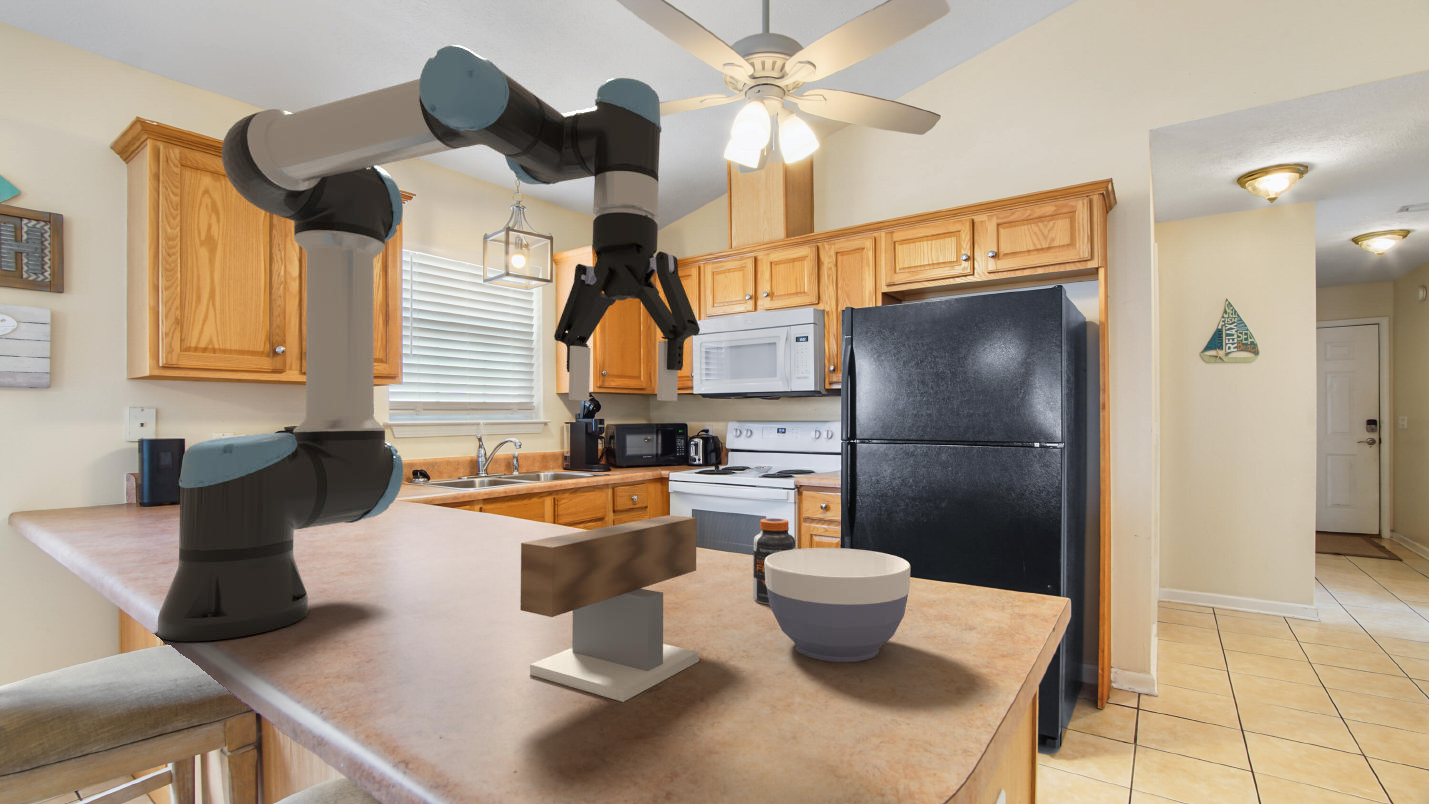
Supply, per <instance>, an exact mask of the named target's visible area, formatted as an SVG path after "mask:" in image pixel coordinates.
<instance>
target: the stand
mask: <svg viewBox="0 0 1429 804" xmlns="http://www.w3.org/2000/svg"><path fill="white" fill-rule="evenodd" d="M571 645H572V647H569V648H568V649H565V650H563V651H561V652H558V653H555V654H553V655H550V656H548V657H545V658H543V659H540V660H538V661H535V662H532V663H530V664H529V675H531V676H533V677H537V678H540V679H544V680H548V681H551V682H554V683H558V684H561V685H564V686H567V687H571V688H575V689H577V690H580V691H583V692H584V691H585V692H588V693H592V694H595V695H597V696H602V697H604V698H608V699H612V700H615V701H619V702H622V703H624V702H626V701H628V700H630V699H631V698H633V697H635V696H637V695H639V694H641V693H643V692H645V691H646V690H648V689H650V688H653V686H656V685H657V684H659V683H661V682H663V681H665V680H667V679H668V678H671V677H672V676H674V675H676V674H678V673H679V672H682V671H683V670H686V669H687V668H689V667H691V666H693V665H695V664H696V663H699V661H700V659H699V655H700V654H699V653H700V652H699V651H697V650H692V649H688V648H683V647H679V646H674V645H669V644H666V643H664V592H662V591H656V590H650V589H644V588H641V589H638V590H635V591H631V592H628V593H625V594H622V595H619V596H616V597H613V598H610V599H607V600H604V601H601V602H597V603H594V604H591V605H588V606H585V607H582V608H579V609H576V610H573V611H572V644H571Z"/></svg>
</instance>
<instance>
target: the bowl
mask: <svg viewBox="0 0 1429 804" xmlns="http://www.w3.org/2000/svg"><path fill="white" fill-rule="evenodd" d="M764 567H765V583H766V587H767V593H768V598H769V603H770V604H769V607H770V609H771V611H772V613H773V615H774V617H775V620H776V621H777V624H778V625H779V627H780V630H781V631H782V632H783V633H784V634H785V635H786V636H787V637H788V638H789V639H790V640H791V641H792V642H793V643H794V647H795V649H796V651H798V652H799V653H800V654H802V655H804V656H806V657H808V658H811V659H815V660H819V661H822V662H823V661H825V662H830V663H856V662H863V661H867V660H870V659H873V658H875V657H876V656H877V655H878V654H879V652H880V648H881V647H882V646H884V645H885V644H886V643H887V642H888V641H889V640H890V639H892V638H893V637H894V636H895V633H896V631H897V630H898V628H899V627H900V624H901V622H902V620H903V618H904V617H905V614H906V608H907V603H908V598H909V593H910V584H911V564H910V563H909V561H907V560H906V559H904V558H902V557H899V556H897V555H894V554H893V555H892V554H888V553H884V552H881V551H879V552H878V551H874V550H873V551H872V550H866V549H856V548H855V549H854V548H842V547H808V548H797V549H796V548H795V549H794V550H787V551H781V552H777V553H773V554H771V555H769V556H767V557H766V558H765V561H764Z"/></svg>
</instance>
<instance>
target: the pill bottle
mask: <svg viewBox="0 0 1429 804" xmlns="http://www.w3.org/2000/svg"><path fill="white" fill-rule="evenodd" d="M759 529H760V532H759V533H758V534H756V535H755V536H754V538H753V558H752V559H753V560H752V561H753V564H752V567H753V573H752V574H753V575H752V576H753V578H752V579H753V580H752V581H753V582H752V585H753V586H752V587H753V588H752V596H753V597H752V598H753V600H754V601H756V602H757V603H760V604H764V605H770V603H769V598H768V593H767V587H766V583H765V567H764V561H765V558H766V557H767V556H769V555H771V554H773V553H777V552H781V551H787V550H794V549H796V539H795V537H794V535H792V534H790V533H789V529H790V527H789V520H787V519H785V518H784V519H783V518H776V517H775V518H773V517H772V518H771V517H769V518H763V519H762V518H761V519H760V522H759Z"/></svg>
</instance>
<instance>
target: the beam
mask: <svg viewBox="0 0 1429 804" xmlns="http://www.w3.org/2000/svg"><path fill="white" fill-rule="evenodd" d="M693 572H697V517H691V516H681V515H670V514H668V515H663V516H657V517H651V518H648V519H647V518H645V519H641V520H636V521H631V522H625V523H619V524H616V525H615V524H614V525H609V526H605V527H604V526H603V527H598V528H594V529H589V530H583V531H578V532H572V533H568V534H563V535H555V536H551V537H546V538H541V539H535V540H531V541H530V540H529V541H525V542H521V544H520V609H519V610H520V611H522V612H525V613H526V612H527V613H531V614H537V615H540V616H544V617H549V618H554V617H557V616H560V615H563V614H567V613H569V612H573V610H576V609H579V608H582V607H585V606H588V605H591V604H594V603H597V602H601V601H604V600H607V599H610V598H613V597H616V596H619V595H622V594H625V593H628V592H631V591H635V590H638V589H644V588H647V587H649V586H650V587H651V586H652V585H656V584H659V583H662V582H665V581H668V580H671V579H675V578H677V577H680V576H683V575H686V574H690V573H693Z"/></svg>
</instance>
